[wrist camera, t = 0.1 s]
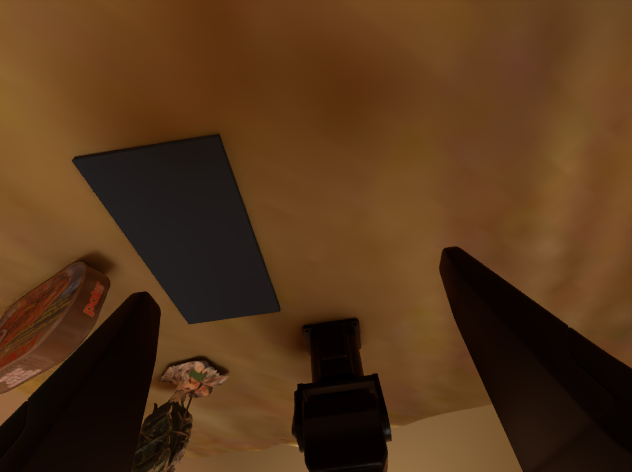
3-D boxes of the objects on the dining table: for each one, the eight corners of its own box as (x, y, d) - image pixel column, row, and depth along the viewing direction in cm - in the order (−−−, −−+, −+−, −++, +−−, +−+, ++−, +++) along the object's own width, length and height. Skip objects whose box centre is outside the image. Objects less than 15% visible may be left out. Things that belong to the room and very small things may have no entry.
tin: (98, 245, 28) (44, 335, 21) (130, 266, 29) (89, 353, 23) (0, 311, 32) (-67, 400, 26) (34, 325, 34) (-22, 411, 28)
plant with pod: (131, 372, 42) (49, 605, 27) (209, 351, 40) (166, 591, 26) (170, 395, 48) (119, 601, 33) (240, 378, 46) (220, 589, 31)
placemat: (280, 307, 35) (280, 311, 35) (189, 320, 36) (188, 324, 35) (219, 133, 22) (218, 136, 21) (74, 156, 22) (71, 160, 22)
